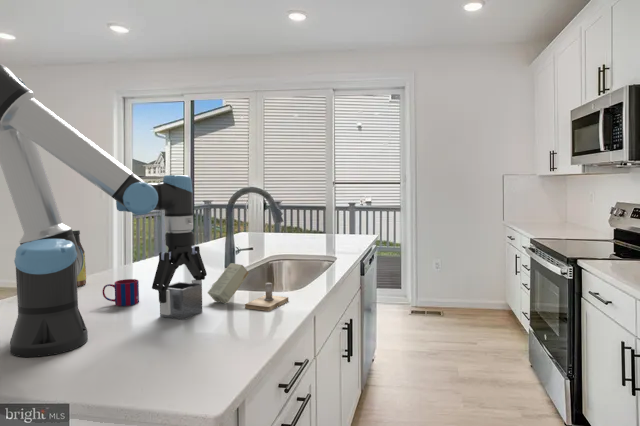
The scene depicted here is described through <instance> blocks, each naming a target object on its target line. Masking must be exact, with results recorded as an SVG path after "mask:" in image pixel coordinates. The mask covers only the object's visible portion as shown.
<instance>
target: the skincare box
mask: <svg viewBox="0 0 640 426" xmlns="http://www.w3.org/2000/svg"><path fill="white" fill-rule="evenodd" d="M249 274H250V273H249V271H248V270H247V268H246V267H245V266H244V264H239V263H232V262H231V263H229V264H228V265H227V267H226V268H225V270H224V271H223V272H222V273H221V275H220V276H219V277H218V278H217V280H216V281H215V282H214V284H213V285H212V286H211V287H210V288H209V290H208V291H207V294H208V295H209V296H210V297H211V298H212V300H214V302H217V303H222V304H228V303H229V301H230V300H231V299H232V297H233V296H234V295H235V293H236V292H237V291H238V289H239V288H240V287H241V285H242V284H243V283H244V281H245V280H246V279H247V277H248V276H249Z"/></svg>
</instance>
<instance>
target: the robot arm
mask: <svg viewBox="0 0 640 426" xmlns="http://www.w3.org/2000/svg"><path fill="white" fill-rule="evenodd" d="M38 146H39V147H40V148H42V149H43V150H45V151H47V153H49V154H50V155H52V156H53V157H54V158H56V159H57V160H59V162H61V163H63V164H65V165H66V166H67V167H69V168H70V169H72V170H73V171H74V172H75V173H77V174H79V175H80V176H82V177H83V178H84V179H86V180H87V181H89V182H90V183H92V184H93V185H94V186H96V187H97V188H99V190H101V191H102V192H104V193H105V194H107V195H108V196H109V197H111V198H112V199H113V200H115V205H116V210H117V211H118V212H127V213H132V214H134V215H138V216H141V215H147V214H150V213H151V212H152V211H164V230H165V231H166V232H165V235H164V237H165V239H164V241H165V246H166V247H167V249H168V250H167V252H165V251H160V252H159V253H158V264H157V266H156V269H155V270H156V271H155V274H154V278H153V281H152V286H151V289H152V290H155V291H158V302H159V312H160V311H161V314H164V315H170V314H171V312H170V290H167V289H168V286H169V285H170V284H171V281H172V279H173V278H174V275H175V273H176V270H178V269H179V267H181V266H183V265H185V267H186V269H187V270H188V272H189V273H190V275H191V276H192V278H193V279H192V280H191V283H196V284H202V285H203V283H202V281H203V280H205V279H206V277H207V270H206V268H205V265H204V261H203V258H202V256H201V252H200V246H199V245H194V244H195V237H194V236H195V234H194V233H195V232H194V231H192V230H193V229H194V203H193V202H194V199H193V197H194V195H193V193H194V191H193V185H192V184H193V182H192V181H193V180H192V177H190V175H186V174H184V175H183V174H174V175H173V174H167V175H164V176H163V180H162V182H160V181H159V182H146V181H145V180H143V179H142V178H141V177H140V176H138V175H137V174H135V173H134V172H132V171H131V170H130V168H128V167H126V166H125V165H124V164H123V163H121V162H120V161H118V160H116V158H114V157H113V156H112V155H110V154H109V153H108V152H106V151H105V150H103V149H102V148H101V147H99V146H98V145H97V144H96V143H95V142H93V141H92V140H91V139H89V138H88V137H86V136H85V135H83V134H82V133H81V132H79V131H78V130H77V129H75V128H74V127H72V126H71V125H70V124H69V123H68V122H67V121H65V120H63V119H62V118H61V117H60V116H58V115H57V114H55V113H54V112H53V111H51V110H50V109H49V108H48V107H46V106H45V105H43V104H42V103H41V102H39V101H38V100H37V99H36V97H35V92H34V91H32V90H31V89H30V88H28V87H27V86H26V84H25V82H24V81H23V80H22V79H21V78H20V77H18V76H17V75H16V74H14V72H13V71H11V69H10V68H8V67H7V66H5V65H4V64H2V63H0V169H1V170H2V173H3V174H2V175H3V176H4V179H5V182H6V184H7V188H8V191H9V193H10V197H11V200H12V202H13V204H14V205H13V206H14V209H15V211H16V214H17V216H18V219H19V222H20V225H21V228H22V232H23V235H22V236H21V238H20V240H19V241H18V242H19V246H18V247H17V248H16V250H15V254H14V255H15V257H14V260H13V261H14V266H15V278H16V281H15V282H16V298H17V318H16V321H15V324H14V328H13V331H12V334H11V338H10V341H9V350H10V351H9V352H10V354H11V355H13V356H17V357H22V358H35V357H44V356H52V355H56V354H62V353H65V352H69V351H72V350H74V349H77V348H79V347H81V346H83V345H85V344H86V343H87V342H88V340H89V336H88V335H89V333H88V332H89V331H88V328H87V326H86V324H85V320H84V318H83V316H82V314H81V312H80V310H79V302H78V301H79V300H78V299H79V295H78V286H77V276H78V275H79V273H80V272H81V270H82V267H83V260H84V258H83V253H82V251H81V249H80V247H79V246H78V245H77V243H76V240H75V237H74V234H73V231H72V230H73V228H72V227H71V226H69V225H66V224H65V223H63V220H62V217H61V214H60V211H59V207H58V205H57V202H56V198H55V196H54V192H53V190H52V187H51V183H50V181H49V177H48V174H47V171H46V169H45V168H46V167H45V165H44V162H43V159H42V155H41V154H40V150H39V147H38Z"/></svg>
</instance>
